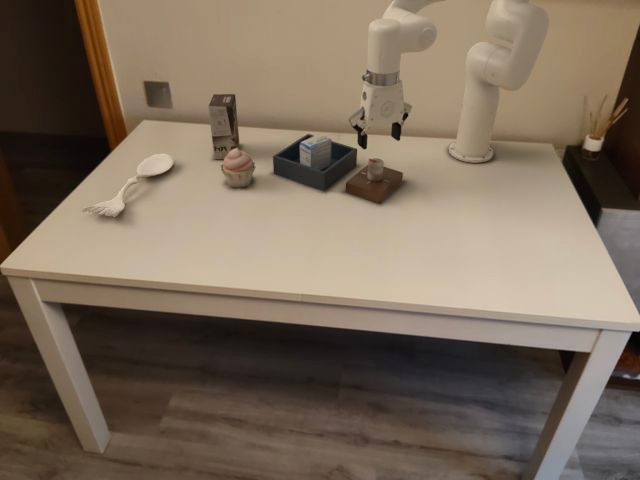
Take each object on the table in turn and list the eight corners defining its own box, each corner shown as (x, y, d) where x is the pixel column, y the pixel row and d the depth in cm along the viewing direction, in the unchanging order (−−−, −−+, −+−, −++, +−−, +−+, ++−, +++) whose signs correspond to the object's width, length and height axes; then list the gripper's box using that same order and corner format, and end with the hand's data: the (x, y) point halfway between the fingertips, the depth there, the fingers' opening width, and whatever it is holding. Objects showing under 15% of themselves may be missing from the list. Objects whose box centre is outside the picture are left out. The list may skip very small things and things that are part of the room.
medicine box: (320, 161, 155) (320, 132, 150) (331, 166, 152) (331, 138, 147) (299, 170, 150) (299, 141, 145) (310, 176, 148) (310, 147, 143)
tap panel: (369, 171, 151) (370, 161, 149) (402, 182, 146) (403, 172, 145) (345, 192, 142) (345, 181, 140) (378, 204, 138) (379, 193, 136)
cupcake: (262, 186, 144) (260, 152, 138) (228, 194, 141) (224, 159, 135) (250, 170, 151) (247, 137, 145) (217, 177, 148) (213, 144, 142)
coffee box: (236, 160, 156) (231, 106, 146) (213, 159, 156) (207, 106, 146) (240, 145, 163) (236, 93, 153) (219, 145, 163) (213, 93, 154)
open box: (307, 150, 161) (307, 133, 158) (356, 166, 154) (357, 148, 150) (273, 173, 150) (272, 156, 146) (324, 191, 142) (324, 173, 139)
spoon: (83, 220, 131) (80, 208, 129) (151, 159, 156) (149, 148, 154) (116, 226, 129) (113, 214, 127) (180, 163, 154) (178, 152, 152)
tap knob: (385, 176, 143) (386, 159, 140) (378, 182, 140) (379, 166, 137) (371, 171, 145) (372, 155, 142) (364, 178, 142) (365, 161, 139)
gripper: (358, 88, 121) (356, 157, 131) (423, 74, 127) (416, 141, 137) (342, 77, 126) (341, 144, 137) (405, 64, 132) (400, 129, 143)
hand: (379, 142), depth 137 cm, fingers open, 9 cm apart
